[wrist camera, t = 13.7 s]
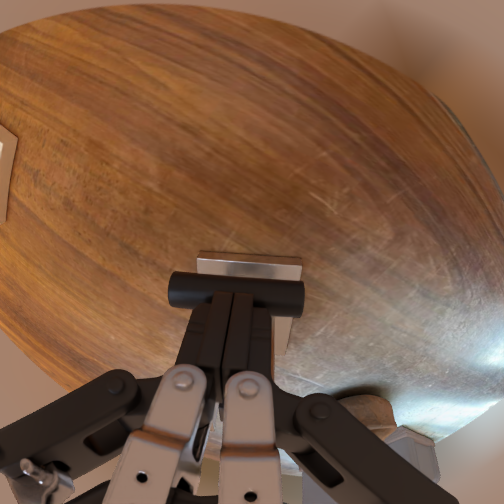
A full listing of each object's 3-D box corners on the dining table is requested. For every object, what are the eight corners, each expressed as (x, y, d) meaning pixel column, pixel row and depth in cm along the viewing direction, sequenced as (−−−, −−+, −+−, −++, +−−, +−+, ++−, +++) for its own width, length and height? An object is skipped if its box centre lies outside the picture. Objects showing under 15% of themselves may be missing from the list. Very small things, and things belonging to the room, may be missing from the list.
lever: (178, 258, 12) (161, 294, 10) (302, 267, 12) (307, 306, 10) (203, 392, 19) (198, 418, 17) (272, 398, 19) (272, 425, 17)
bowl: (422, 398, 35) (421, 451, 28) (360, 414, 44) (355, 459, 37) (368, 376, 30) (363, 449, 23) (297, 395, 39) (286, 451, 32)
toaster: (358, 471, 66) (362, 512, 51) (298, 462, 55) (298, 518, 40) (436, 439, 55) (446, 483, 39) (403, 424, 43) (417, 491, 28)
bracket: (199, 250, 24) (151, 368, 13) (301, 258, 24) (319, 384, 13) (206, 340, 30) (184, 440, 19) (284, 347, 30) (286, 450, 19)
